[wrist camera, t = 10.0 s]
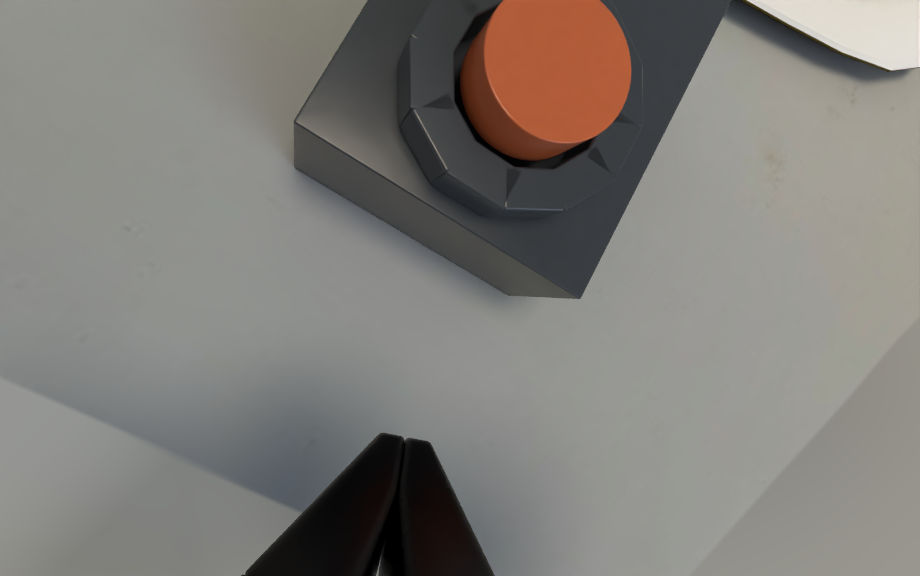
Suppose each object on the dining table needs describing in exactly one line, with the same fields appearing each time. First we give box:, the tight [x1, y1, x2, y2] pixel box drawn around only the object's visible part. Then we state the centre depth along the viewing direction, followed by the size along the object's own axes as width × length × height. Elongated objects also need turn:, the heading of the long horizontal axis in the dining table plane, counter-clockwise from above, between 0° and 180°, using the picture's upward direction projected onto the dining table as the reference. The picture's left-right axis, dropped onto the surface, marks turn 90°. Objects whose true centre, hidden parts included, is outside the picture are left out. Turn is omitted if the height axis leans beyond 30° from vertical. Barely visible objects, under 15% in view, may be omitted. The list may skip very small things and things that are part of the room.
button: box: [460, 0, 631, 161], centre depth 15 cm, size 4×4×2 cm
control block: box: [294, 0, 731, 299], centre depth 19 cm, size 12×10×8 cm
